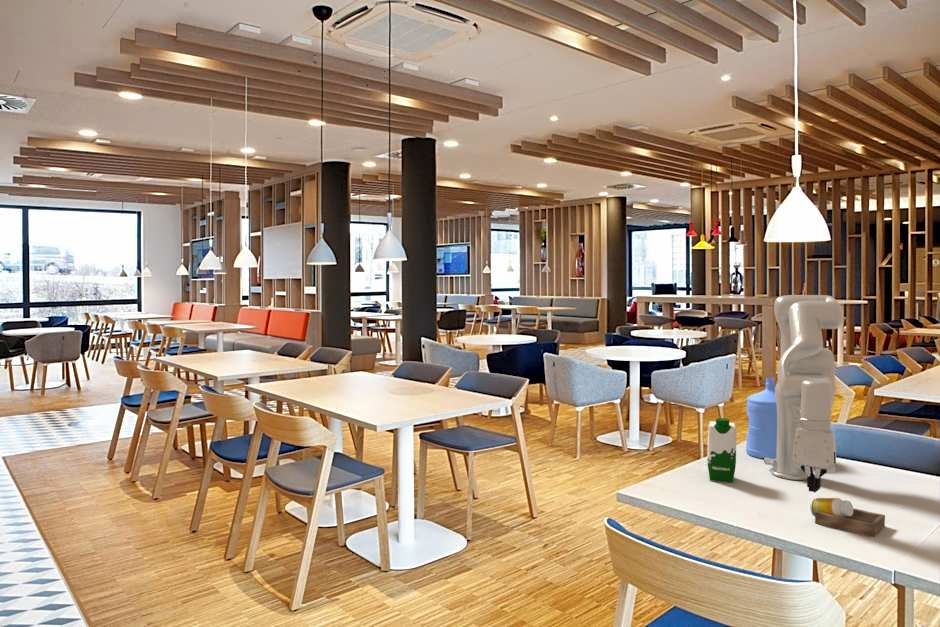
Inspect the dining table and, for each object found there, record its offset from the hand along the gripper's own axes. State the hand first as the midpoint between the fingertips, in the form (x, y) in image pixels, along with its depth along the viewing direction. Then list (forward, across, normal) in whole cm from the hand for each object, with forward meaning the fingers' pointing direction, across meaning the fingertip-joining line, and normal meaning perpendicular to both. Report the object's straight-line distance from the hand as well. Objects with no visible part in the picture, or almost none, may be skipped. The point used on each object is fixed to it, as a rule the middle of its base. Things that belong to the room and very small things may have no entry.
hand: (813, 490), depth 192 cm
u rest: (+7, +9, 0) cm, 12 cm away
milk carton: (+7, -33, +16) cm, 38 cm away
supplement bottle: (+5, 0, 0) cm, 5 cm away
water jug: (+7, -34, +56) cm, 66 cm away
